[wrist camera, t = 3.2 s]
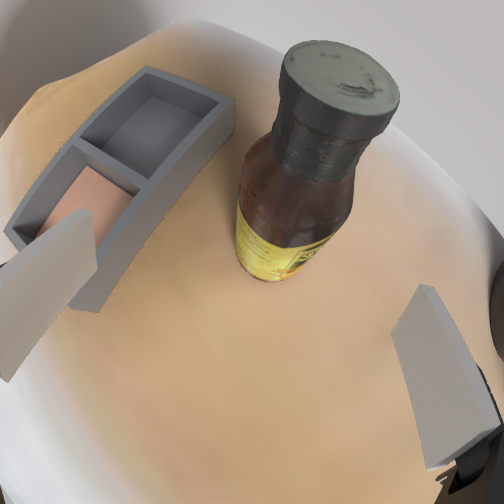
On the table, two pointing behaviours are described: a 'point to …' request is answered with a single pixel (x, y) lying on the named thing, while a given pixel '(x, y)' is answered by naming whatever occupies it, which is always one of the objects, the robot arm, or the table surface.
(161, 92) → the slot caddy
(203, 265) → the table surface
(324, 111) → the sauce bottle
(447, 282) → the table surface
